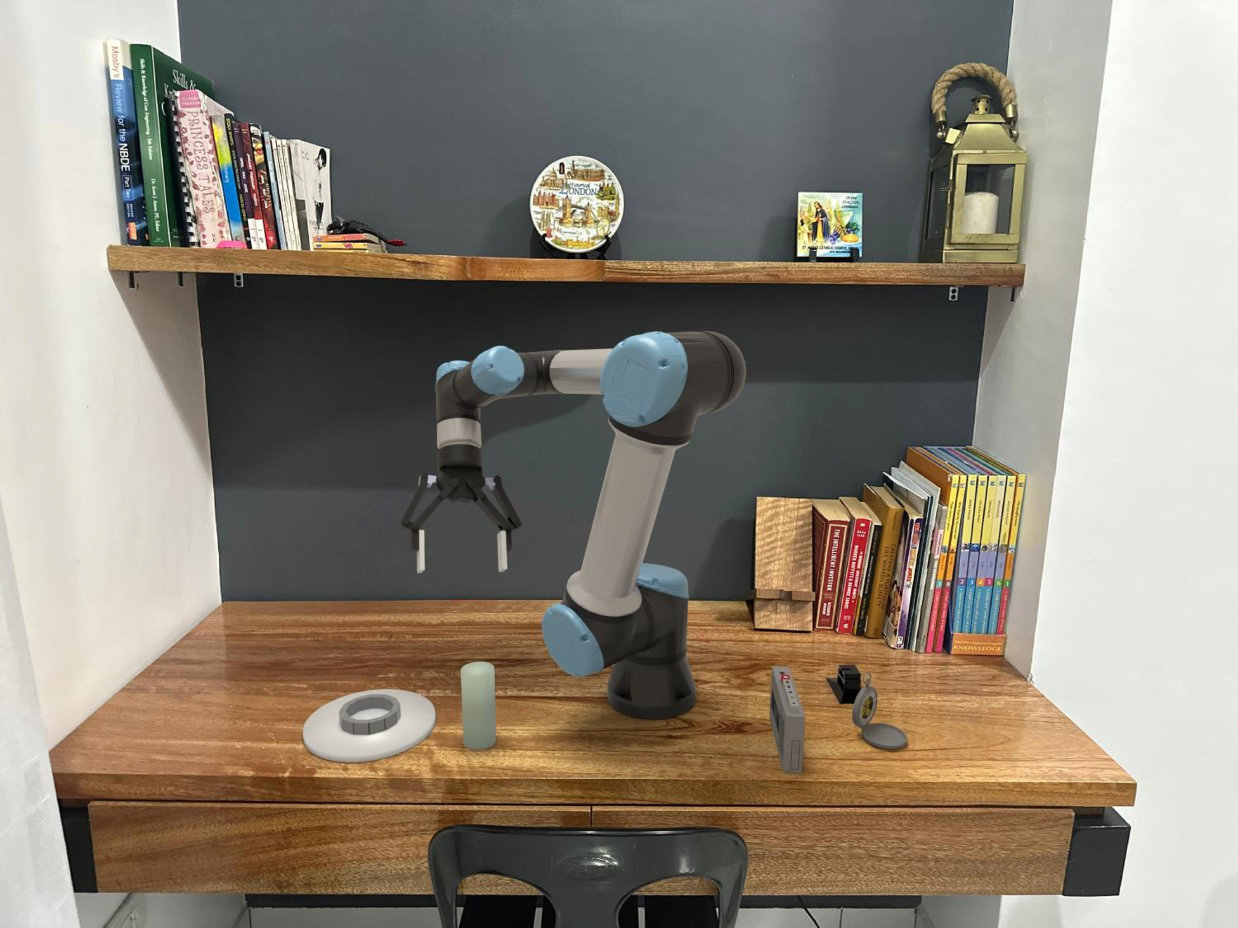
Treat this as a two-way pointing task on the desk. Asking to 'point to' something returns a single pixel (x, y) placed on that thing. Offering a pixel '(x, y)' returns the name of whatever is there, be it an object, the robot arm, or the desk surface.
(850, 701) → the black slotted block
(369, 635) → the desk surface
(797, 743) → the cassette player
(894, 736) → the pocket watch
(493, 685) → the sage green cylinder
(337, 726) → the carrier plate
